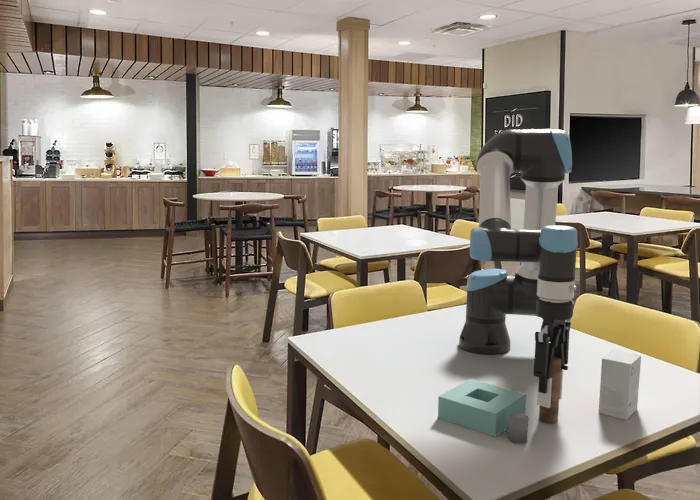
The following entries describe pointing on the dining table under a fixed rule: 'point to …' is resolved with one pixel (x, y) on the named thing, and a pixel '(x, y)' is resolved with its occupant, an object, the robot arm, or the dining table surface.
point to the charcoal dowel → (518, 427)
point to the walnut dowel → (552, 395)
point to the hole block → (480, 406)
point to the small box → (619, 384)
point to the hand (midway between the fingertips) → (549, 401)
